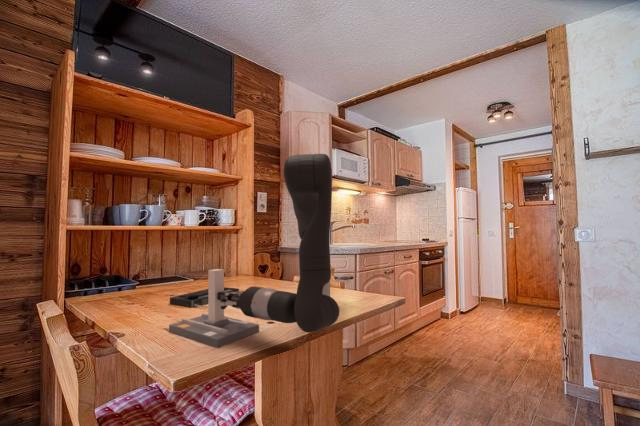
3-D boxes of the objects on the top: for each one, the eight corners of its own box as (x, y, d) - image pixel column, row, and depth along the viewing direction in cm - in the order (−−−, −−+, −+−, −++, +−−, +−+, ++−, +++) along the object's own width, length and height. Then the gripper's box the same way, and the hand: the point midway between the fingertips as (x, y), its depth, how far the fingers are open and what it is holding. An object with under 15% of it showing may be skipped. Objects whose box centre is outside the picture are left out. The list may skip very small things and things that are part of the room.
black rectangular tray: (217, 283, 144) (251, 287, 134) (217, 293, 143) (251, 297, 134) (169, 294, 121) (205, 299, 112) (169, 305, 121) (205, 311, 112)
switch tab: (219, 321, 90) (219, 268, 91) (227, 323, 88) (227, 269, 89) (204, 326, 86) (204, 270, 87) (212, 328, 84) (213, 271, 85)
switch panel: (211, 319, 100) (211, 310, 100) (259, 331, 87) (258, 320, 87) (169, 331, 88) (169, 321, 88) (217, 347, 76) (217, 335, 76)
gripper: (281, 283, 83) (238, 278, 92) (243, 292, 72) (198, 285, 82) (281, 312, 82) (238, 304, 92) (243, 325, 71) (198, 314, 81)
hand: (219, 295), depth 87 cm, fingers closed
